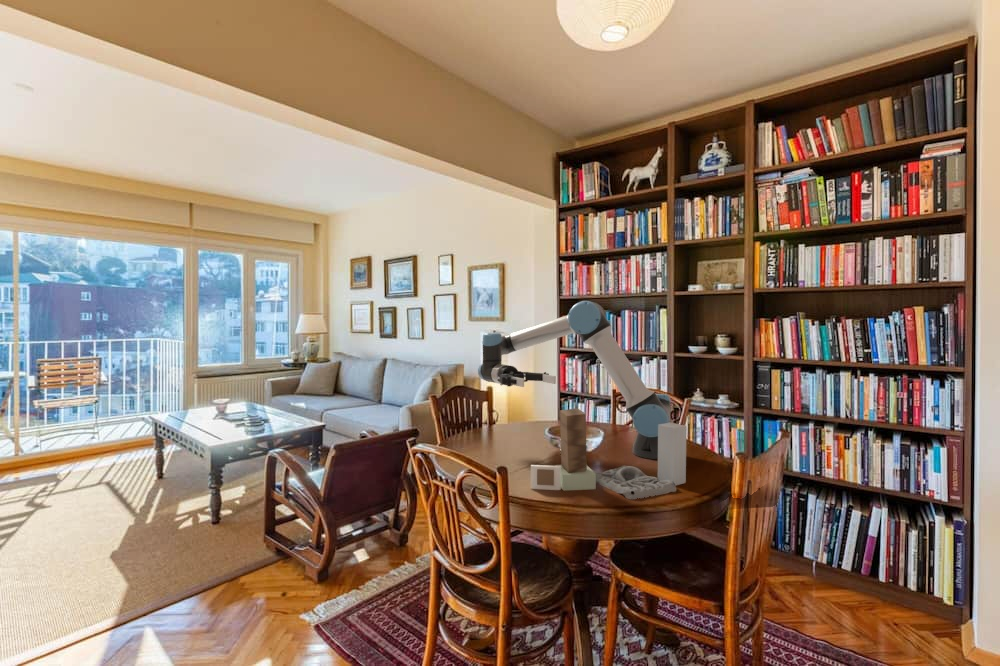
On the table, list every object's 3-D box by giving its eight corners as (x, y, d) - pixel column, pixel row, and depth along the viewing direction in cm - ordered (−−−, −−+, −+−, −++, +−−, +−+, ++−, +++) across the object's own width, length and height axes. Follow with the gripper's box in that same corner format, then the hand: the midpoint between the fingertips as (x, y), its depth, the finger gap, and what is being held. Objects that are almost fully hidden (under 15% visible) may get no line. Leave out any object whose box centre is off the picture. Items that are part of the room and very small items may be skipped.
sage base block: (585, 479, 157) (585, 463, 157) (595, 490, 147) (595, 473, 147) (555, 480, 156) (555, 465, 156) (563, 491, 146) (563, 475, 146)
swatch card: (530, 487, 148) (530, 464, 148) (560, 488, 147) (560, 466, 147) (530, 489, 147) (530, 466, 146) (560, 490, 146) (560, 467, 145)
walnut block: (579, 463, 155) (577, 408, 152) (586, 470, 149) (585, 413, 146) (561, 465, 153) (559, 410, 151) (568, 473, 148) (566, 416, 145)
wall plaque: (680, 492, 146) (680, 479, 146) (630, 502, 138) (630, 489, 138) (628, 469, 167) (628, 458, 167) (582, 477, 159) (582, 465, 159)
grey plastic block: (669, 477, 158) (670, 422, 157) (685, 482, 153) (686, 425, 152) (657, 480, 154) (658, 424, 154) (673, 486, 149) (674, 428, 149)
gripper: (531, 382, 191) (567, 389, 173) (477, 387, 177) (509, 395, 160) (532, 363, 191) (567, 368, 173) (476, 367, 177) (509, 372, 159)
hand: (539, 381), depth 166 cm, fingers open, 13 cm apart
